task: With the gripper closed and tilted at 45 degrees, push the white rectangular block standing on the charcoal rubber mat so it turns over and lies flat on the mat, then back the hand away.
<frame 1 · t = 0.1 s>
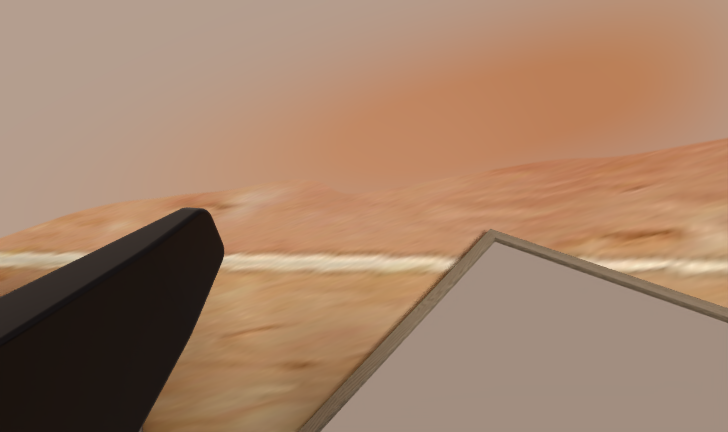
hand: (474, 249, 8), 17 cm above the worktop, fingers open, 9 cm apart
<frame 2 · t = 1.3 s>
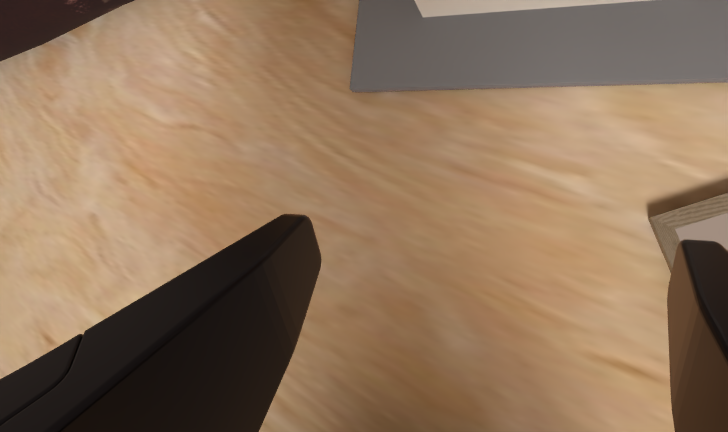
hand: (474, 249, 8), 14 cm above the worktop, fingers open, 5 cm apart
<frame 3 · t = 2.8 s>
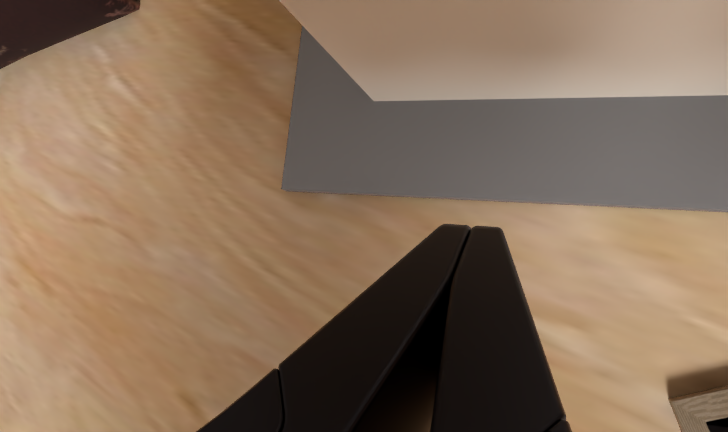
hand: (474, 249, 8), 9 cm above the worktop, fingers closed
white rectangular block: (537, 34, 16), resting on mat
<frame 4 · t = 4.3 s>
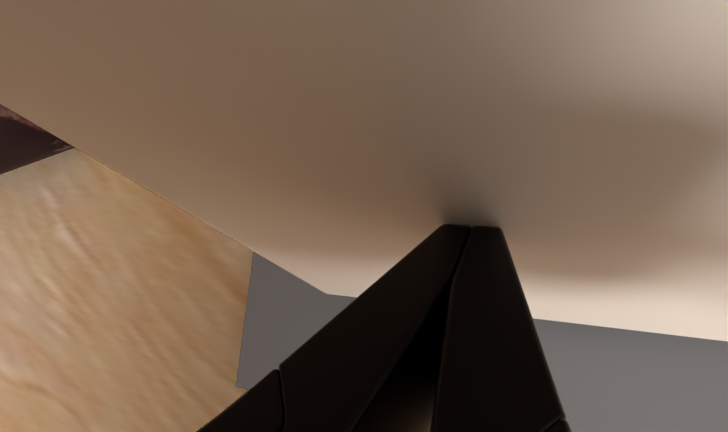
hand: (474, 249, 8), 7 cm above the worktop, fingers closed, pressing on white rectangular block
white rectangular block: (517, 238, 14), point 1 cm above the worktop, tilted 12°, touching gripper, mat
mat: (532, 69, 16), on the worktop
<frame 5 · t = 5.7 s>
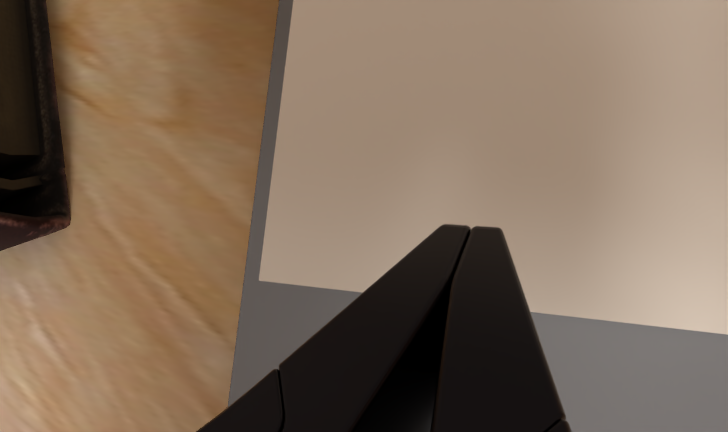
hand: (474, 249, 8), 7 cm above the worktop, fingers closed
white rectangular block: (503, 306, 12), point 3 cm above the worktop, tilted 90°, touching mat
mat: (522, 197, 15), on the worktop
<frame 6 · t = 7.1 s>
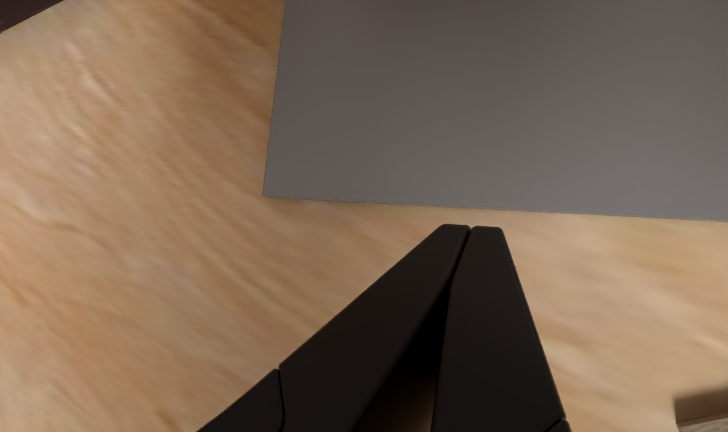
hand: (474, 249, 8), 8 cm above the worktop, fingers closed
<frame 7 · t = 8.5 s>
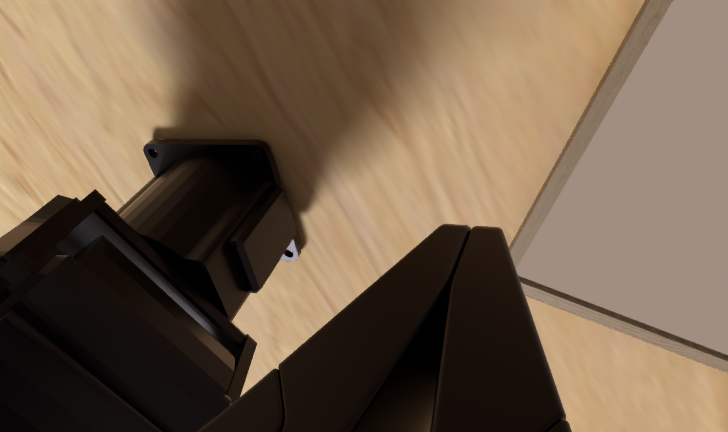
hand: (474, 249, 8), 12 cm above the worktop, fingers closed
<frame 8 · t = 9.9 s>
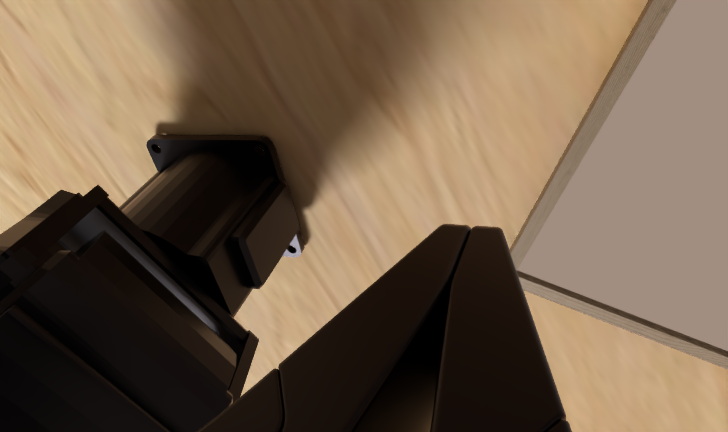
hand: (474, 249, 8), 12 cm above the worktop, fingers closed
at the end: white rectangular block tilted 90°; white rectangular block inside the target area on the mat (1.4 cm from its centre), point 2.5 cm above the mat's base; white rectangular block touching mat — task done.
